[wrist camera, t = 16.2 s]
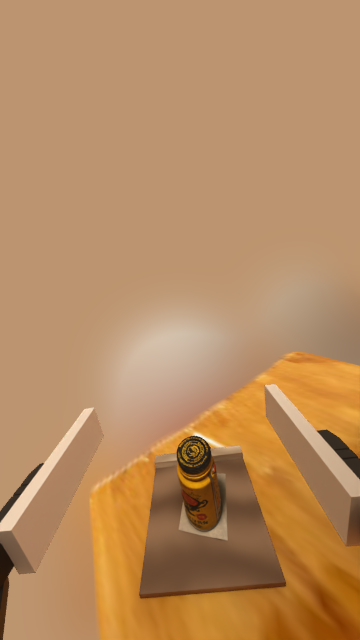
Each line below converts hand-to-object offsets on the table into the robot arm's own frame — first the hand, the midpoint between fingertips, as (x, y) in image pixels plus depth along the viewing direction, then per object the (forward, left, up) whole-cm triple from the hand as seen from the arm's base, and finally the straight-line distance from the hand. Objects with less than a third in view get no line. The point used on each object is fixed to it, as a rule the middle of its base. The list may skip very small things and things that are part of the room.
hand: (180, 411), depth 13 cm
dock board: (-6, -7, -28) cm, 30 cm away
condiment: (-7, -8, -27) cm, 29 cm away
